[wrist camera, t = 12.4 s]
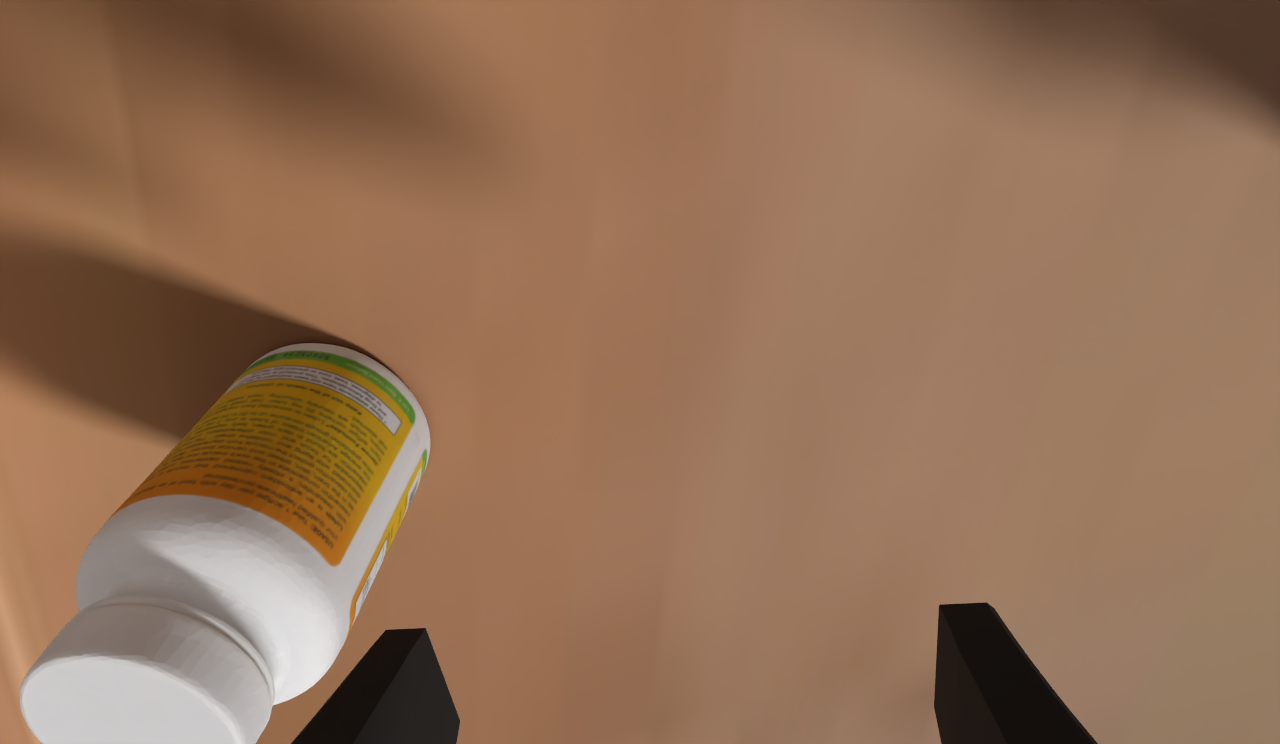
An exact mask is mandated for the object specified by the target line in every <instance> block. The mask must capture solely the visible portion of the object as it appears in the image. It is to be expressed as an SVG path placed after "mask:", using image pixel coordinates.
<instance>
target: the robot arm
mask: <svg viewBox="0 0 1280 744" xmlns="http://www.w3.org/2000/svg"><path fill="white" fill-rule="evenodd" d="M934 708H935V713H936V718H937V723H938V728H939V733H940V738H941V743H942V744H1098V743H1097V742H1096V741H1095V740H1094V739H1093V737H1092V736H1091V735H1090V734H1089V733H1088V731H1087V730H1086V729H1085V728H1084V727H1083V725H1082V724H1081V723H1080V722H1079V721H1078V720H1077V718H1076V717H1075V716H1074V715H1073V714H1072V712H1071V711H1070V710H1069V709H1068V707H1067V706H1066V705H1065V704H1064V702H1063V701H1062V700H1061V699H1060V697H1059V696H1058V695H1057V694H1056V692H1055V691H1054V690H1053V689H1052V687H1051V686H1050V685H1049V683H1048V682H1047V681H1046V679H1045V678H1044V677H1043V676H1042V674H1041V673H1040V672H1039V670H1038V669H1037V668H1036V666H1035V665H1034V664H1033V662H1032V661H1031V660H1030V658H1029V657H1028V656H1027V654H1026V653H1025V652H1024V650H1023V649H1022V648H1021V646H1020V645H1019V643H1018V642H1017V641H1016V639H1015V638H1014V636H1013V635H1012V634H1011V632H1010V631H1009V629H1008V628H1007V626H1006V625H1005V624H1004V622H1003V621H1002V619H1001V618H1000V616H999V615H998V613H997V612H996V610H995V609H994V608H993V607H992V606H990V605H989V604H988V603H967V604H945V605H939V619H938V639H937V659H936V679H935V699H934ZM459 724H460V720H459V717H458V714H457V711H456V709H455V706H454V703H453V701H452V698H451V695H450V693H449V690H448V687H447V685H446V682H445V679H444V676H443V674H442V671H441V668H440V666H439V663H438V660H437V658H436V655H435V652H434V650H433V647H432V644H431V641H430V639H429V636H428V633H427V631H426V628H419V629H397V630H386V631H385V632H384V633H383V634H382V635H381V636H380V637H379V639H378V640H377V641H376V642H375V643H374V645H373V646H372V647H371V648H370V649H369V650H368V652H367V653H366V654H365V655H364V656H363V658H362V659H361V660H360V661H359V663H358V664H357V665H356V666H355V667H354V669H353V670H352V671H351V672H350V674H349V675H348V676H347V677H346V678H345V680H344V681H343V682H342V683H341V685H340V686H339V687H338V688H337V689H336V691H335V692H334V693H333V694H332V695H331V697H330V698H329V699H328V700H327V702H326V703H325V704H324V705H323V706H322V708H321V709H320V710H319V711H318V712H317V714H316V715H315V716H314V717H313V718H312V720H311V721H310V722H309V723H308V724H307V725H306V727H305V728H304V729H303V730H302V731H301V732H300V734H299V735H298V736H297V737H296V738H295V739H294V741H293V742H292V743H291V744H456V742H457V736H458V730H459Z"/></svg>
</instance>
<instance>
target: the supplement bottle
mask: <svg viewBox="0 0 1280 744" xmlns="http://www.w3.org/2000/svg"><path fill="white" fill-rule="evenodd" d="M429 453H430V433H429V427H428V424H427V420H426V418H425V415H424V412H423V410H422V408H421V407H420V405H419V403H418V401H417V400H416V398H415V397H414V395H413V394H412V393H411V391H410V390H409V389H408V388H407V386H406V385H405V384H404V383H403V382H402V381H401V380H400V379H399V378H398V377H397V376H395V375H394V374H393V373H392V372H391V371H390V370H388V369H387V368H385V367H384V366H383V365H381V364H380V363H378V362H377V361H375V360H373V359H371V358H369V357H368V356H366V355H364V354H361V353H359V352H356V351H354V350H351V349H348V348H345V347H341V346H336V345H330V344H321V343H302V344H294V345H289V346H285V347H281V348H278V349H276V350H274V351H271V352H269V353H267V354H266V355H264V356H262V357H261V358H259V359H258V360H256V361H255V362H254V363H252V364H251V365H250V366H249V367H248V368H247V369H246V370H245V371H244V372H243V373H242V374H241V375H240V376H239V377H238V378H237V379H236V380H235V381H234V382H233V384H232V385H231V386H230V387H229V388H228V389H227V390H226V391H225V393H224V394H223V395H222V396H221V397H220V398H219V399H218V400H217V401H216V403H215V404H214V405H213V406H212V407H211V408H210V409H209V410H208V411H207V412H206V414H205V415H204V416H203V417H202V418H201V419H200V420H199V421H198V422H197V423H196V424H195V426H194V427H193V428H192V429H191V430H190V431H189V432H188V433H187V434H186V436H185V437H184V438H183V439H182V440H181V441H180V442H179V443H178V444H177V445H176V446H175V448H174V449H173V450H172V451H171V452H170V453H169V454H168V455H167V456H166V457H165V459H164V460H163V461H162V462H161V463H160V464H159V465H158V466H157V467H156V468H155V470H154V471H153V472H152V473H151V474H150V475H149V476H148V477H147V478H146V480H145V481H144V482H143V483H142V484H141V485H140V486H139V487H138V488H137V489H136V490H135V491H134V492H133V493H132V495H131V496H130V497H129V498H128V499H127V500H126V501H125V502H124V503H123V504H122V505H121V506H120V507H119V508H118V509H117V511H116V512H115V513H114V514H113V515H112V516H111V517H110V518H109V519H108V520H107V522H106V523H105V524H104V525H103V527H102V528H101V529H100V530H99V531H98V533H97V534H96V535H95V536H94V538H93V539H92V541H91V542H90V544H89V545H88V547H87V548H86V550H85V552H84V554H83V556H82V559H81V561H80V564H79V567H78V572H77V577H76V587H75V589H76V598H77V605H78V610H79V613H77V614H76V616H75V617H74V618H73V619H72V620H71V621H70V622H69V623H67V624H66V625H65V626H64V628H63V629H62V630H61V631H60V632H59V634H58V635H57V636H56V637H55V638H54V640H53V641H52V642H51V643H50V644H49V646H48V647H47V648H46V649H45V651H44V652H43V653H42V655H41V656H40V657H39V658H38V660H37V661H36V662H35V664H34V665H33V666H32V667H31V669H30V670H29V671H28V672H27V674H26V676H25V678H24V680H23V682H22V685H21V688H20V696H19V700H20V705H21V711H22V714H23V716H24V719H25V721H26V723H27V725H28V726H29V728H30V730H31V731H32V733H33V734H34V735H35V736H36V737H37V739H38V740H39V741H40V742H41V743H42V744H256V742H257V740H258V738H259V736H260V735H261V733H262V732H263V730H264V729H265V727H266V725H267V723H268V721H269V719H270V715H271V709H272V706H273V705H276V704H279V703H281V702H284V701H287V700H289V699H292V698H294V697H296V696H298V695H299V694H301V693H303V692H305V691H306V690H308V689H309V688H310V687H312V686H313V685H314V684H315V683H316V682H317V681H319V680H320V679H321V678H322V677H323V675H324V674H325V673H326V672H327V671H328V669H329V668H330V667H331V665H332V664H333V662H334V661H335V659H336V657H337V655H338V653H339V651H340V649H341V648H342V646H343V644H344V643H345V641H346V639H347V636H348V634H349V632H350V630H351V627H352V625H353V623H354V621H355V619H356V617H357V615H358V613H359V611H360V609H361V606H362V604H363V602H364V600H365V598H366V596H367V593H368V591H369V589H370V587H371V585H372V583H373V581H374V579H375V576H376V574H377V572H378V570H379V568H380V566H381V564H382V562H383V559H384V557H385V555H386V553H387V551H388V549H389V547H390V545H391V543H392V541H393V539H394V536H395V534H396V532H397V530H398V528H399V526H400V524H401V522H402V520H403V518H404V516H405V513H406V511H407V509H408V507H409V505H410V503H411V501H412V498H413V496H414V494H415V492H416V490H417V488H418V486H419V483H420V481H421V479H422V476H423V473H424V471H425V468H426V465H427V462H428V458H429Z"/></svg>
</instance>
